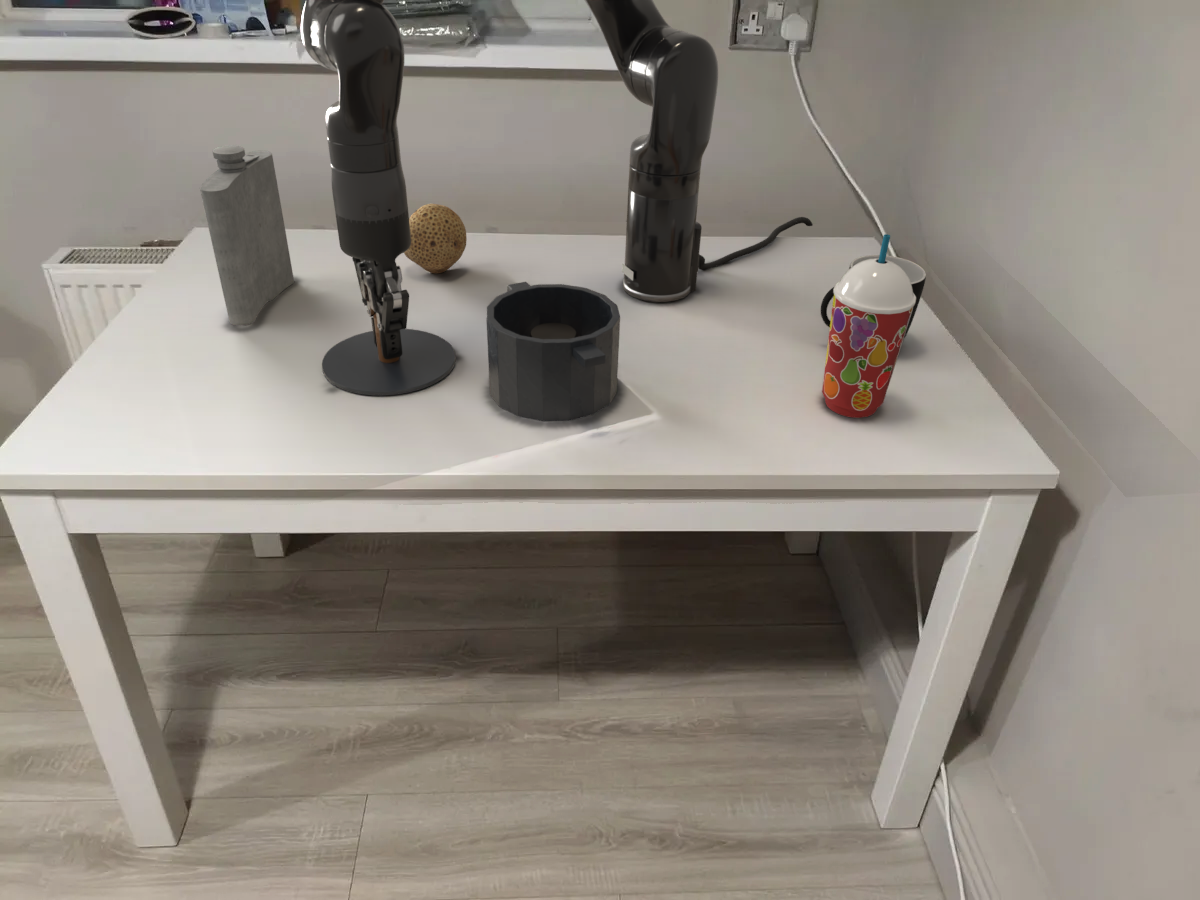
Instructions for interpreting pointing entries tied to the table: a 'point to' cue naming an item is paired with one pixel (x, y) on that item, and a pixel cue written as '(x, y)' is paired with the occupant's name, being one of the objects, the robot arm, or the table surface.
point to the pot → (552, 352)
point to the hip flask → (247, 231)
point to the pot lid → (388, 363)
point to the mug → (910, 268)
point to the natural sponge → (436, 238)
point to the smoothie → (866, 334)
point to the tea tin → (553, 331)
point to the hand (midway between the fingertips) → (388, 350)
